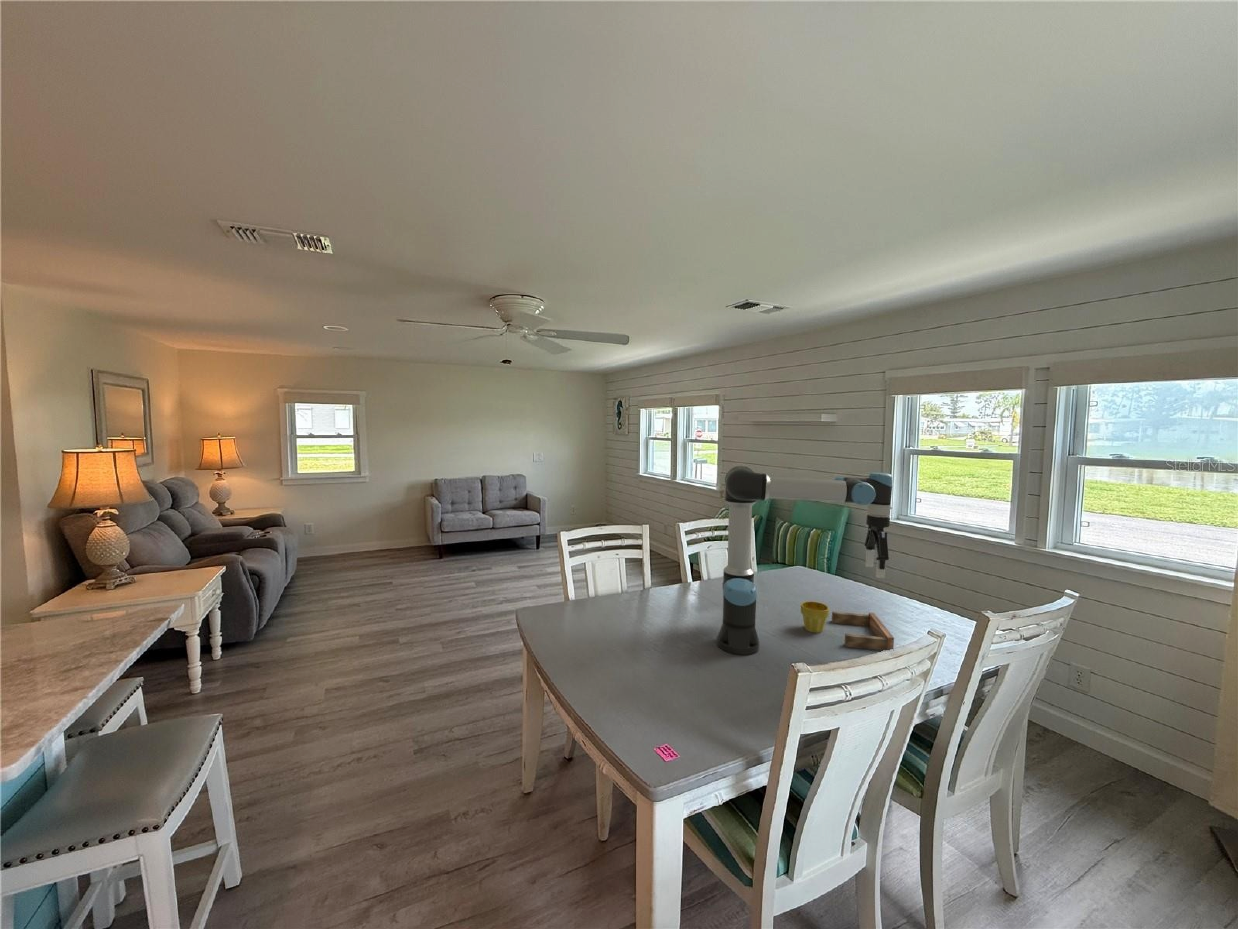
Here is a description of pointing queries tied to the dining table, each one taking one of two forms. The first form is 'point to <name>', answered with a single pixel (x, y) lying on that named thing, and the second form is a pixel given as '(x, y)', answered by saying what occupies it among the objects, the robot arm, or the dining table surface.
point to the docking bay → (860, 641)
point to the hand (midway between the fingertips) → (874, 572)
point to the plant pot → (814, 615)
